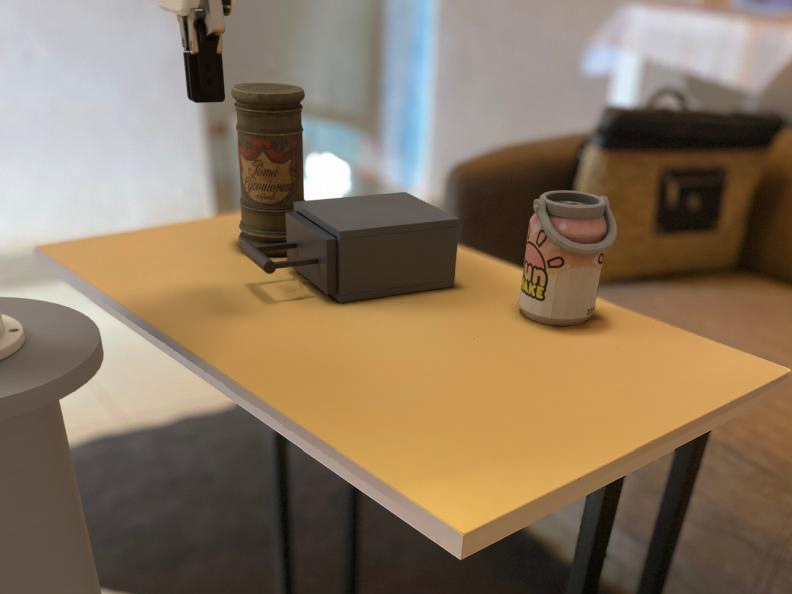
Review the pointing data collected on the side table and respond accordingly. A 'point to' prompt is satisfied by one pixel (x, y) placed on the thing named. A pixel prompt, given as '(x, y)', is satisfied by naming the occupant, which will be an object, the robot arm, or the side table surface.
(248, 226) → the container
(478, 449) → the side table surface
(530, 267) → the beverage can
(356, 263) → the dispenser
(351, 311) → the side table surface
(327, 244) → the tray
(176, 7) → the robot arm
